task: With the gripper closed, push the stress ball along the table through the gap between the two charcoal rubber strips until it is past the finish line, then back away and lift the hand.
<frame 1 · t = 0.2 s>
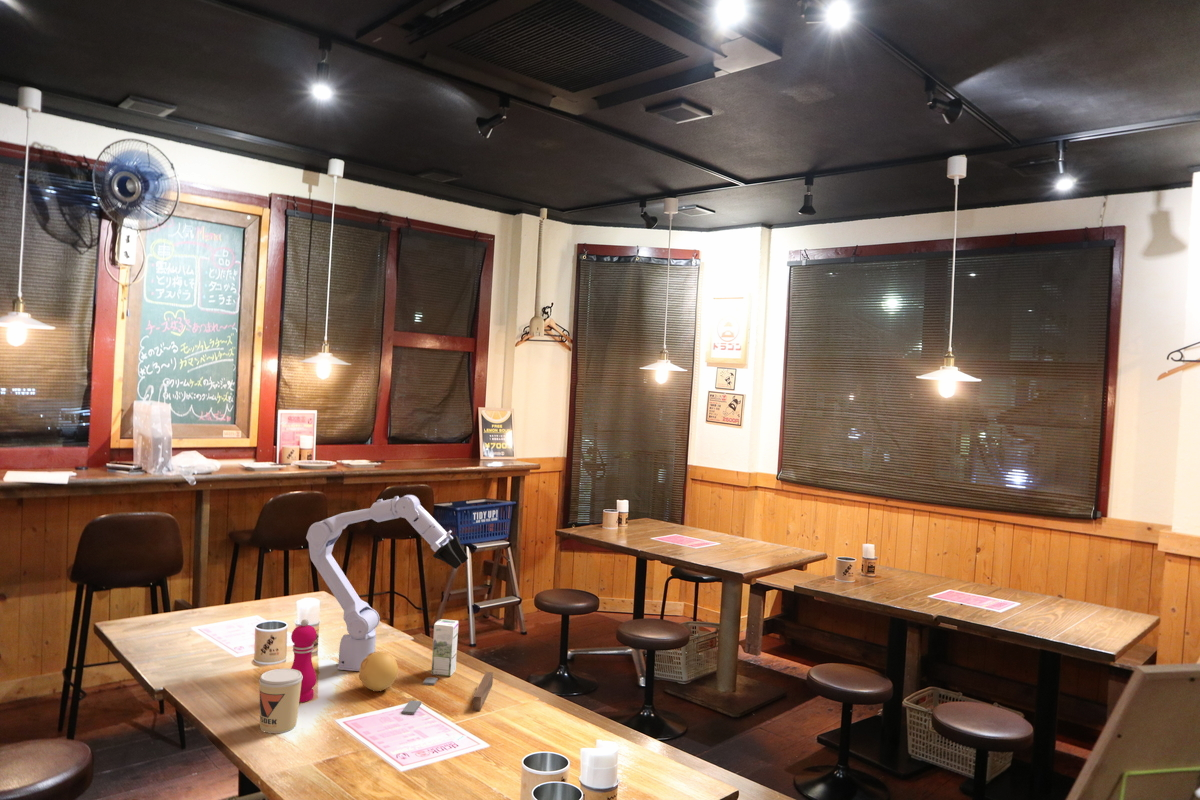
hand: (462, 563, 221), 32 cm above the table, tool tilted 50°, fingers open, 7 cm apart
stress ball: (377, 690, 206), on the table
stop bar: (482, 697, 205), on the table
pepper mill: (300, 699, 198), on the table
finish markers: (422, 693, 206), on the table
syrup box: (443, 673, 222), on the table
coffee cup: (278, 727, 181), on the table
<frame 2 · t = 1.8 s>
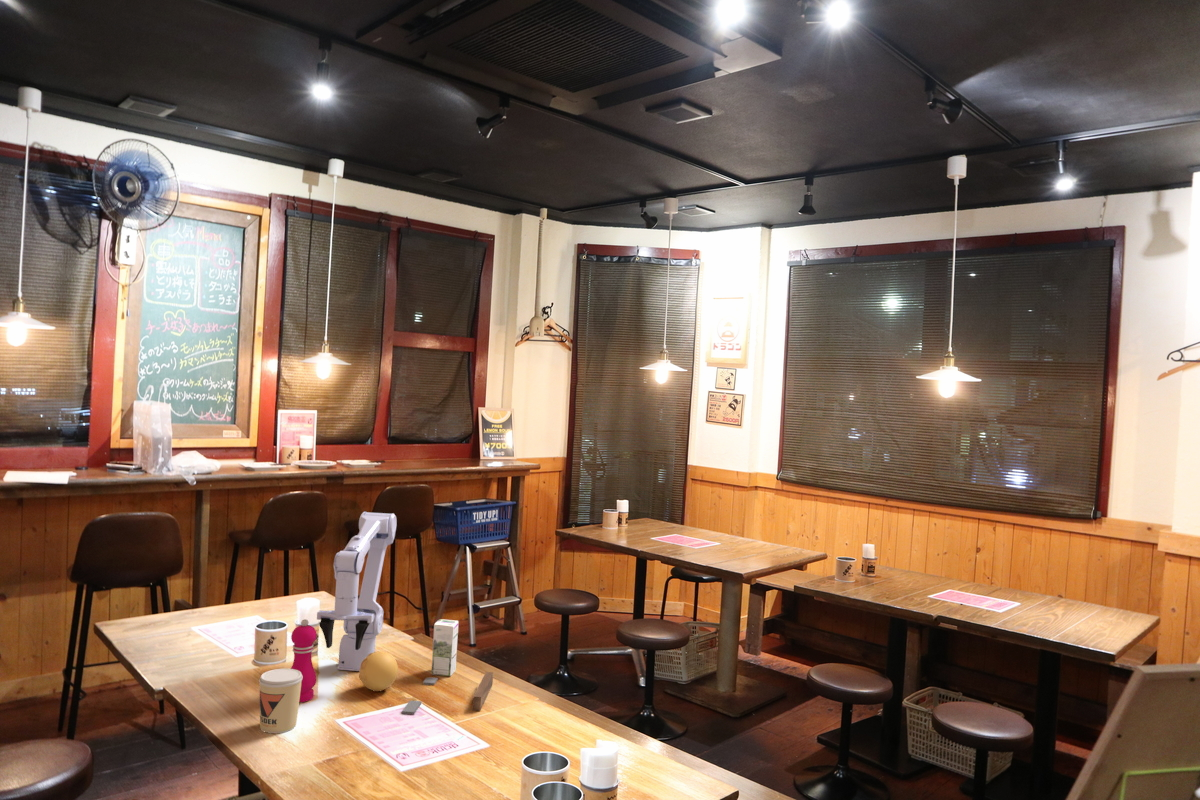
hand: (343, 647, 206), 11 cm above the table, tool pointing down, fingers open, 7 cm apart
nothing on the table moved.
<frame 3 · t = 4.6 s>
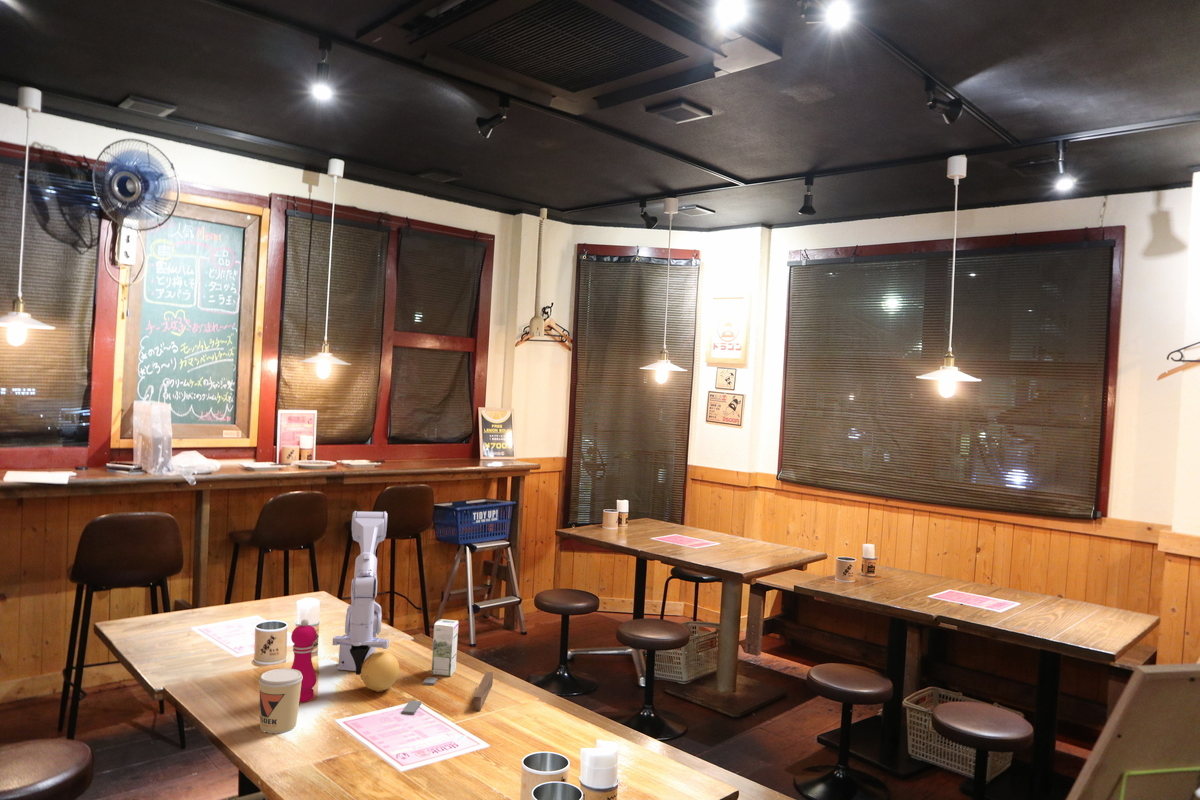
hand: (359, 673, 206), 4 cm above the table, tool pointing down, fingers closed
stress ball: (378, 690, 206), on the table, touching gripper
everything else where it was.
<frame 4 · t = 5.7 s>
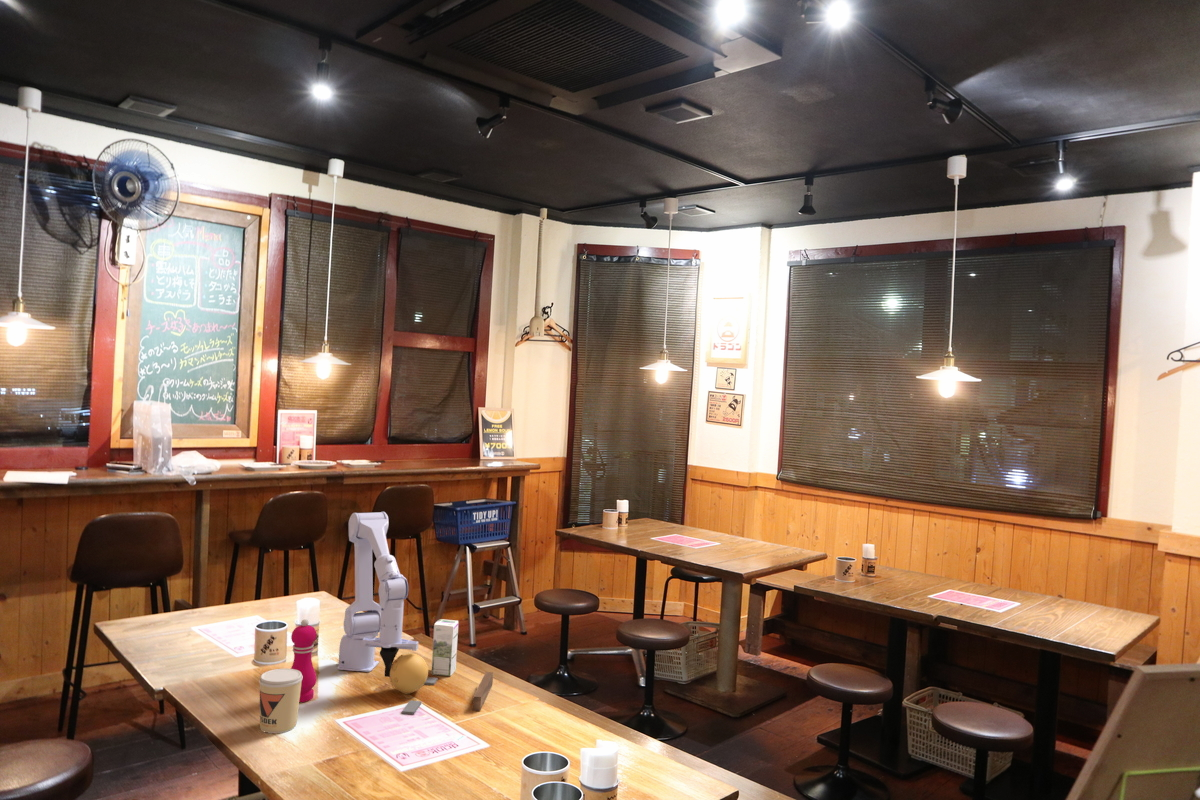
hand: (388, 675, 206), 4 cm above the table, tool pointing down, fingers closed, pressing on stress ball
stress ball: (407, 692, 206), on the table, touching gripper
everything else where it was.
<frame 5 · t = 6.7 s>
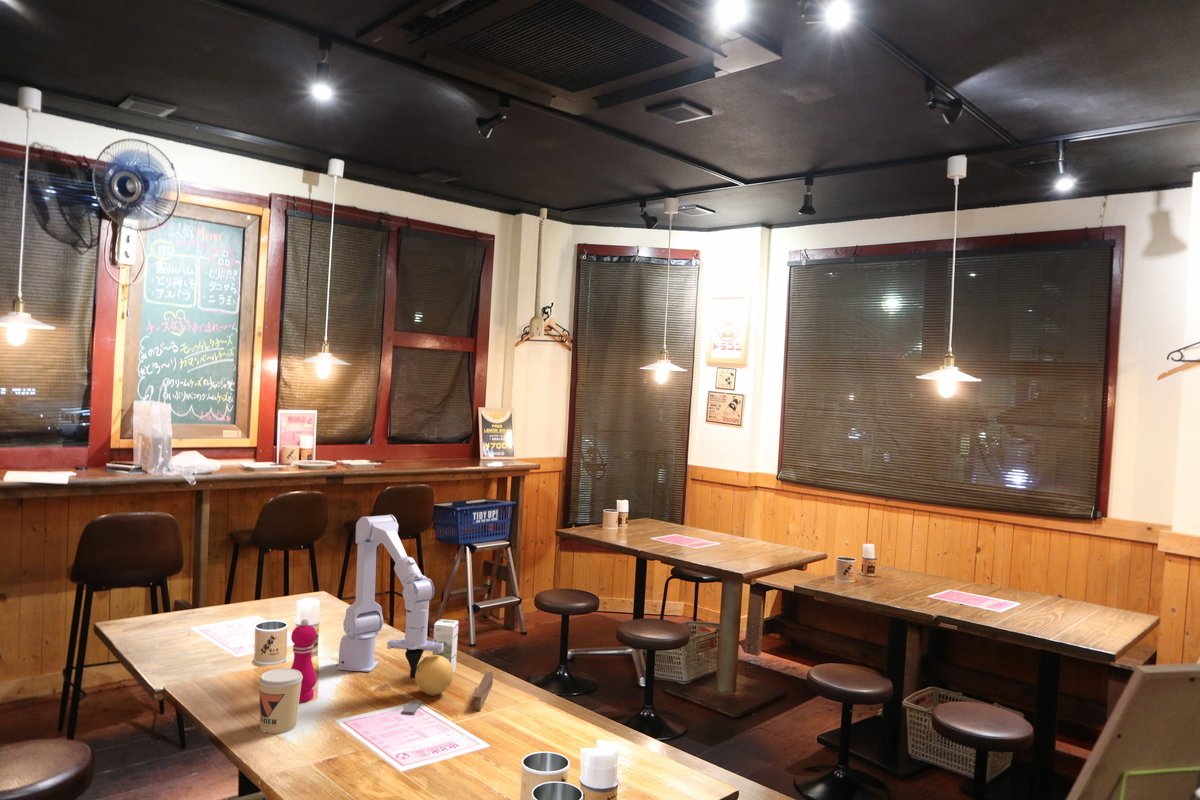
hand: (413, 677, 206), 4 cm above the table, tool pointing down, fingers closed, pressing on stress ball
stress ball: (432, 694, 206), on the table, touching gripper
everything else where it was.
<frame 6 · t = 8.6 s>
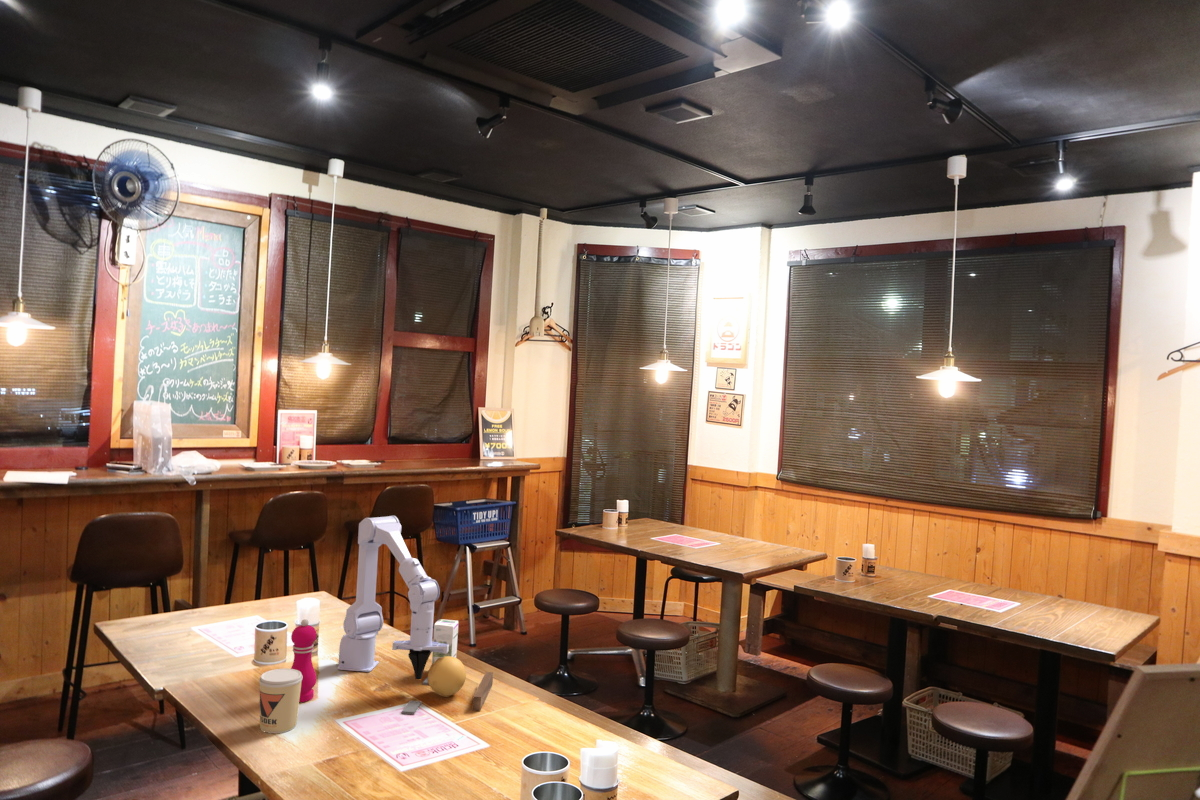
hand: (418, 678, 206), 4 cm above the table, tool pointing down, fingers closed
stress ball: (445, 695, 205), on the table
everything else where it was.
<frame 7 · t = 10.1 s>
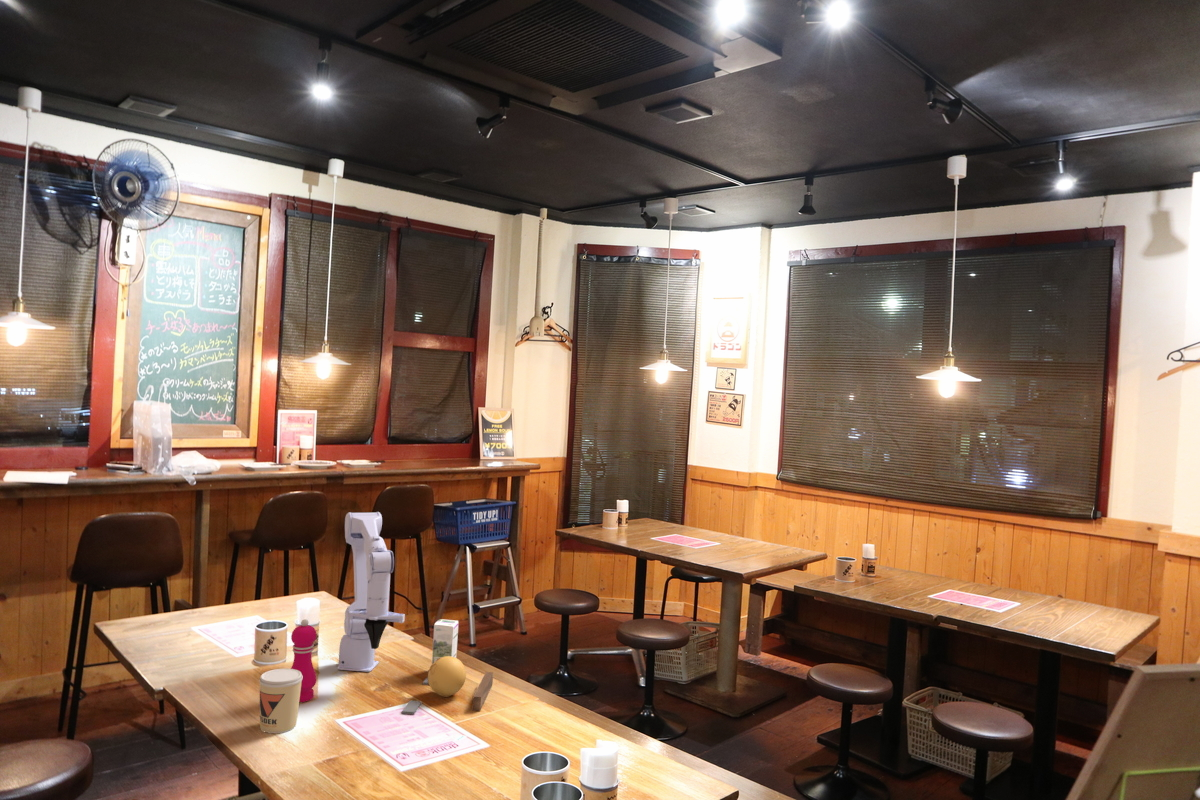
hand: (375, 647, 208), 10 cm above the table, tool pointing down, fingers closed
nothing on the table moved.
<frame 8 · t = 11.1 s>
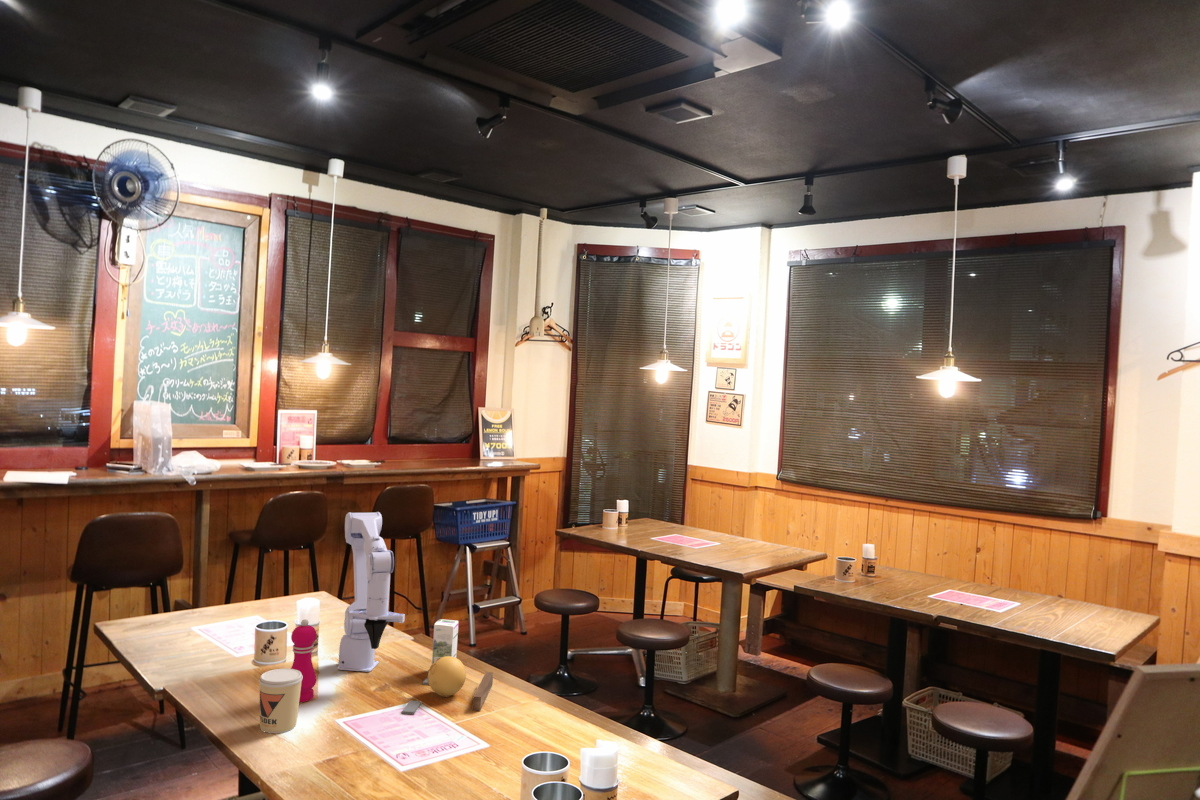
hand: (375, 647, 208), 10 cm above the table, tool pointing down, fingers closed
nothing on the table moved.
at the end: stress ball inside the target area (1.7 cm from its centre), on the table; stress ball moved 18.3 cm from its start; the gripper is holding nothing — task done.
